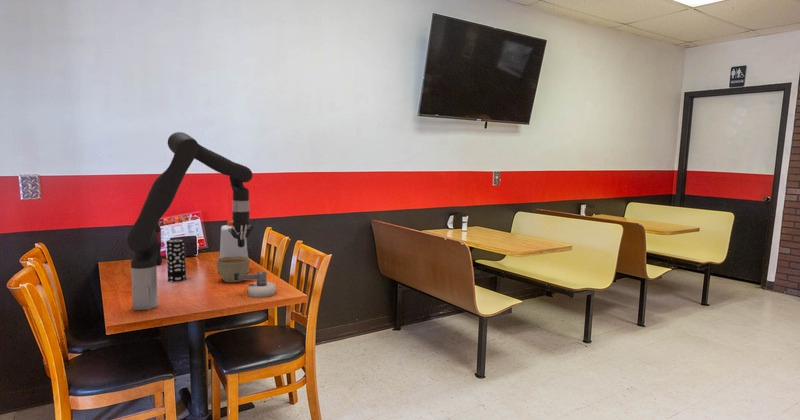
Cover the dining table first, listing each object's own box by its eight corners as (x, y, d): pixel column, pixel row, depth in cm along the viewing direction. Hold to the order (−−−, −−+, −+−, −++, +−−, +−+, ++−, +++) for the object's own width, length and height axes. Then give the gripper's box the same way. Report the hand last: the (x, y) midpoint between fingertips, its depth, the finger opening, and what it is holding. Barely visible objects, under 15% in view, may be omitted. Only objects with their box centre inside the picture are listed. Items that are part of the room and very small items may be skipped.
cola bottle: (146, 264, 271) (143, 212, 268) (162, 262, 275) (160, 211, 272) (145, 267, 264) (142, 213, 260) (162, 266, 267) (160, 213, 264)
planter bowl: (215, 285, 231) (214, 263, 230) (218, 277, 247) (217, 256, 245) (249, 283, 235) (249, 262, 234) (250, 275, 251) (250, 255, 250)
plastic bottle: (249, 274, 254) (248, 222, 251) (219, 276, 248) (218, 223, 245) (247, 267, 268) (246, 218, 265) (218, 269, 262) (217, 219, 259)
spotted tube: (178, 282, 235) (177, 242, 232) (164, 281, 236) (162, 241, 234) (189, 278, 243) (188, 239, 241) (175, 277, 244) (173, 239, 242)
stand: (273, 297, 214) (273, 287, 214) (246, 297, 212) (246, 287, 212) (276, 289, 226) (276, 280, 226) (250, 290, 224) (250, 280, 224)
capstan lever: (267, 283, 221) (267, 271, 221) (266, 285, 217) (265, 273, 216) (235, 284, 219) (235, 271, 218) (233, 286, 215) (233, 274, 214)
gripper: (246, 208, 226) (246, 244, 228) (223, 210, 215) (223, 248, 217) (257, 209, 222) (257, 246, 224) (234, 212, 211) (234, 250, 213)
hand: (241, 247), depth 221 cm, fingers closed
